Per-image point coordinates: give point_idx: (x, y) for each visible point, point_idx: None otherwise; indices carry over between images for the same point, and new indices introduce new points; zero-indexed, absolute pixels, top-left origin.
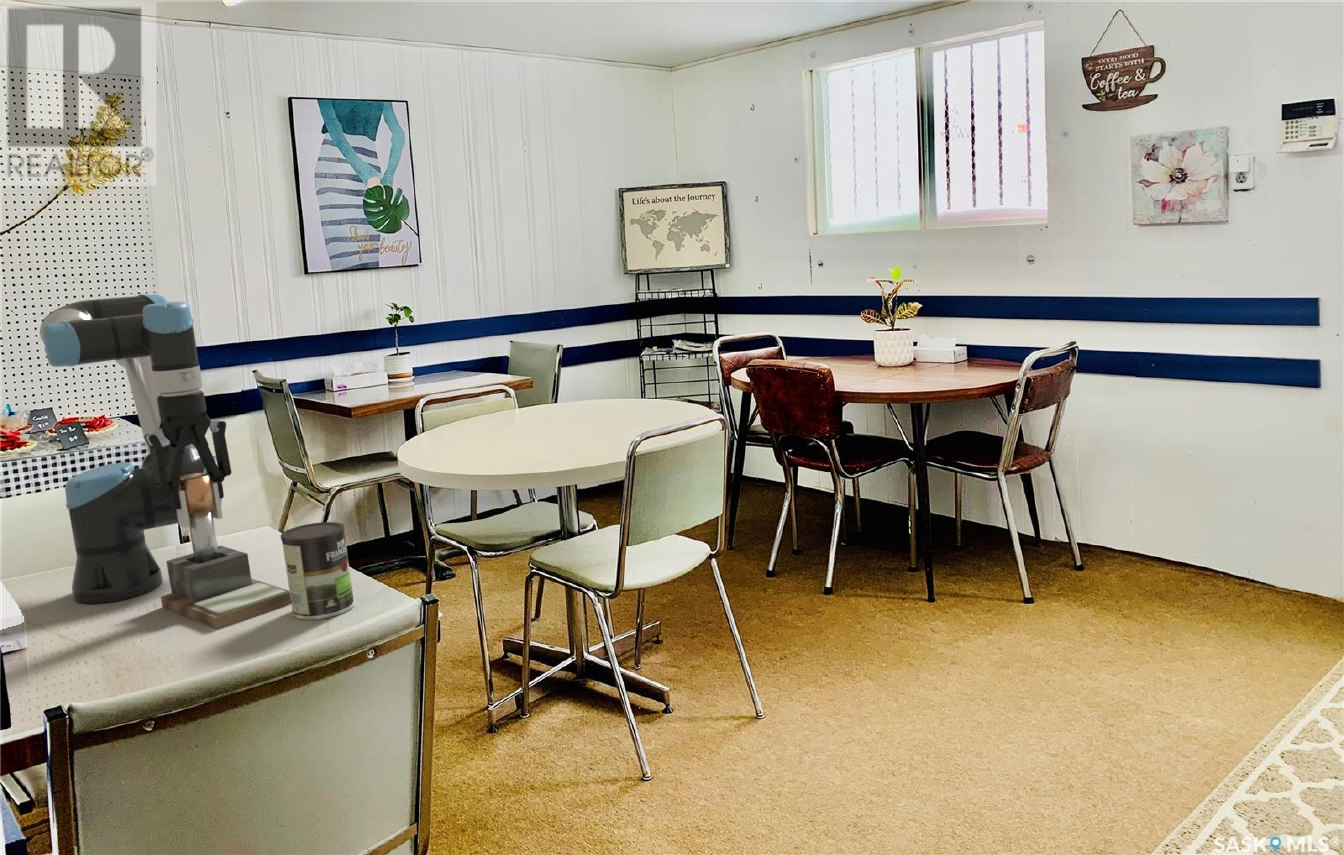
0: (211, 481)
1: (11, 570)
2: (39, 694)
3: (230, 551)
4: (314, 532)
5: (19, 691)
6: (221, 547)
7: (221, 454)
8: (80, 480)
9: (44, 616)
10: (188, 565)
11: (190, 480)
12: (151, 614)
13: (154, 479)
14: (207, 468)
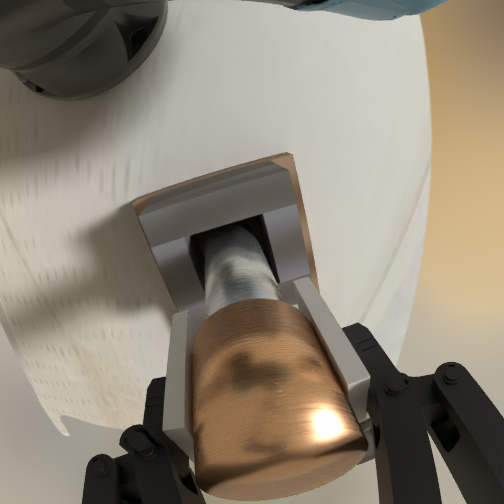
0: (367, 389)
1: None
2: (47, 392)
3: (293, 252)
4: (370, 448)
5: (27, 374)
6: (286, 194)
7: (461, 492)
8: None
9: None
10: (185, 298)
11: (250, 498)
12: (118, 225)
13: (85, 499)
14: (383, 462)
